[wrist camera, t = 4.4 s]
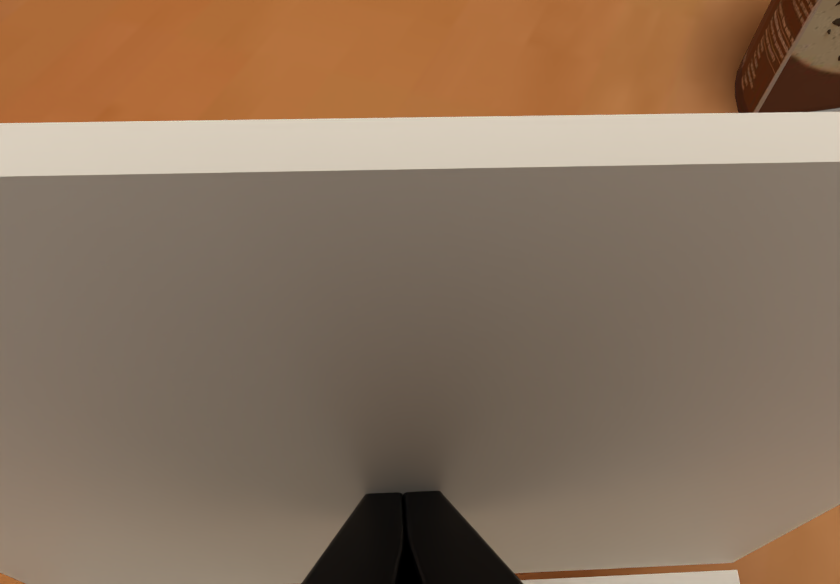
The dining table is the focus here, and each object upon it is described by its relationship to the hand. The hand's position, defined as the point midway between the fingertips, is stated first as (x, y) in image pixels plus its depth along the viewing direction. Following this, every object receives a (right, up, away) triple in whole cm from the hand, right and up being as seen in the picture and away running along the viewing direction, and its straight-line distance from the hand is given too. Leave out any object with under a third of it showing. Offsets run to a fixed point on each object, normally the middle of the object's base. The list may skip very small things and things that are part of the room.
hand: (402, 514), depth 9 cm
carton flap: (0, +1, -1) cm, 1 cm away
